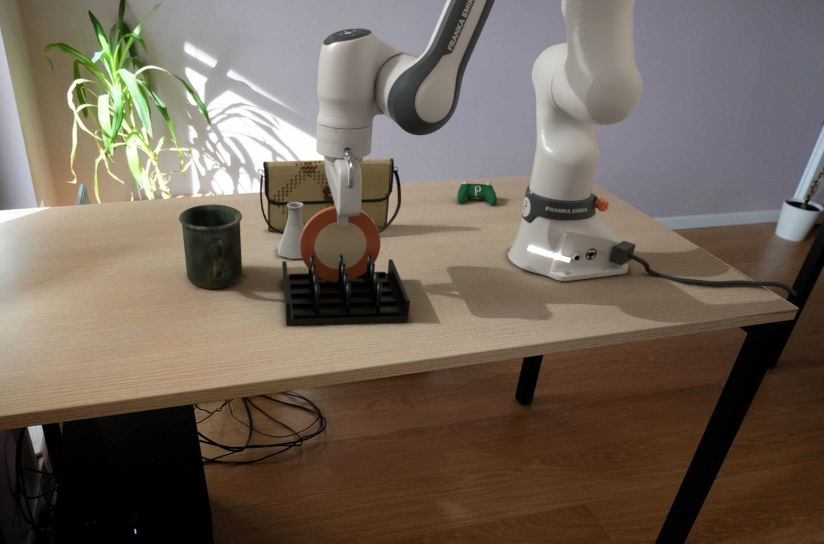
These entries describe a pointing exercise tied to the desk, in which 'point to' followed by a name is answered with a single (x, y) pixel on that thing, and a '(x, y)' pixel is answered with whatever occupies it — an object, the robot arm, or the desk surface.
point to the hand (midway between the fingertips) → (341, 222)
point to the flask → (292, 232)
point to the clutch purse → (324, 190)
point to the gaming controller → (477, 192)
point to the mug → (212, 245)
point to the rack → (345, 297)
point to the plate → (339, 243)
